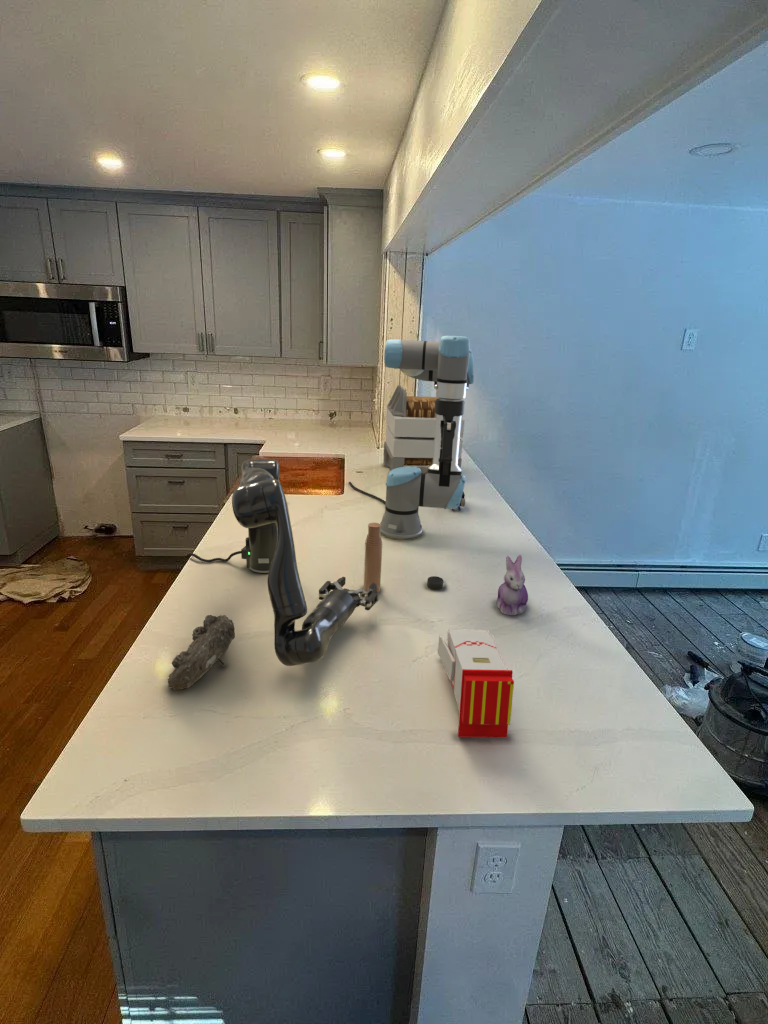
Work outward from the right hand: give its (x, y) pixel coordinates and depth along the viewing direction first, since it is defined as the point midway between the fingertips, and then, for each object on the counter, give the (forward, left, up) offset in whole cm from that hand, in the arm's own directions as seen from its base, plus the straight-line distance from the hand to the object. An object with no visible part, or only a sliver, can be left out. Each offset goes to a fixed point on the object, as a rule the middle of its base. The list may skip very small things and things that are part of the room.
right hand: (443, 478), depth 152 cm
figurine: (+21, +8, -32) cm, 39 cm away
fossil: (-4, -67, -32) cm, 75 cm away
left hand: (-4, -25, -26) cm, 36 cm away
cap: (0, 0, -30) cm, 30 cm away
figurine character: (-45, +57, -32) cm, 79 cm away
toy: (+38, -28, -32) cm, 57 cm away
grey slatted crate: (-89, +79, -32) cm, 123 cm away
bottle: (-9, -16, -32) cm, 37 cm away
